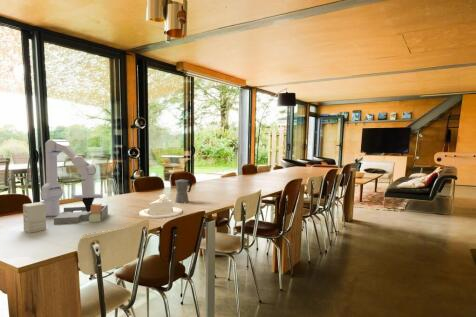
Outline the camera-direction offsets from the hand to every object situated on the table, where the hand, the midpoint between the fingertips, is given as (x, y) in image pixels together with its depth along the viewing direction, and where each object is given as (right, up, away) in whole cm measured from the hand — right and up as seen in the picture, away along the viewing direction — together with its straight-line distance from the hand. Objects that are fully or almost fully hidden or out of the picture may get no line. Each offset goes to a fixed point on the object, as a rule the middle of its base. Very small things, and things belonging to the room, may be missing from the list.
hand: (88, 211), depth 158 cm
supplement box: (-15, -5, -21) cm, 26 cm away
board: (-3, -4, -1) cm, 5 cm away
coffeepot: (+44, -2, +45) cm, 63 cm away
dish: (+36, -4, +14) cm, 39 cm away
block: (+4, -1, +1) cm, 4 cm away
